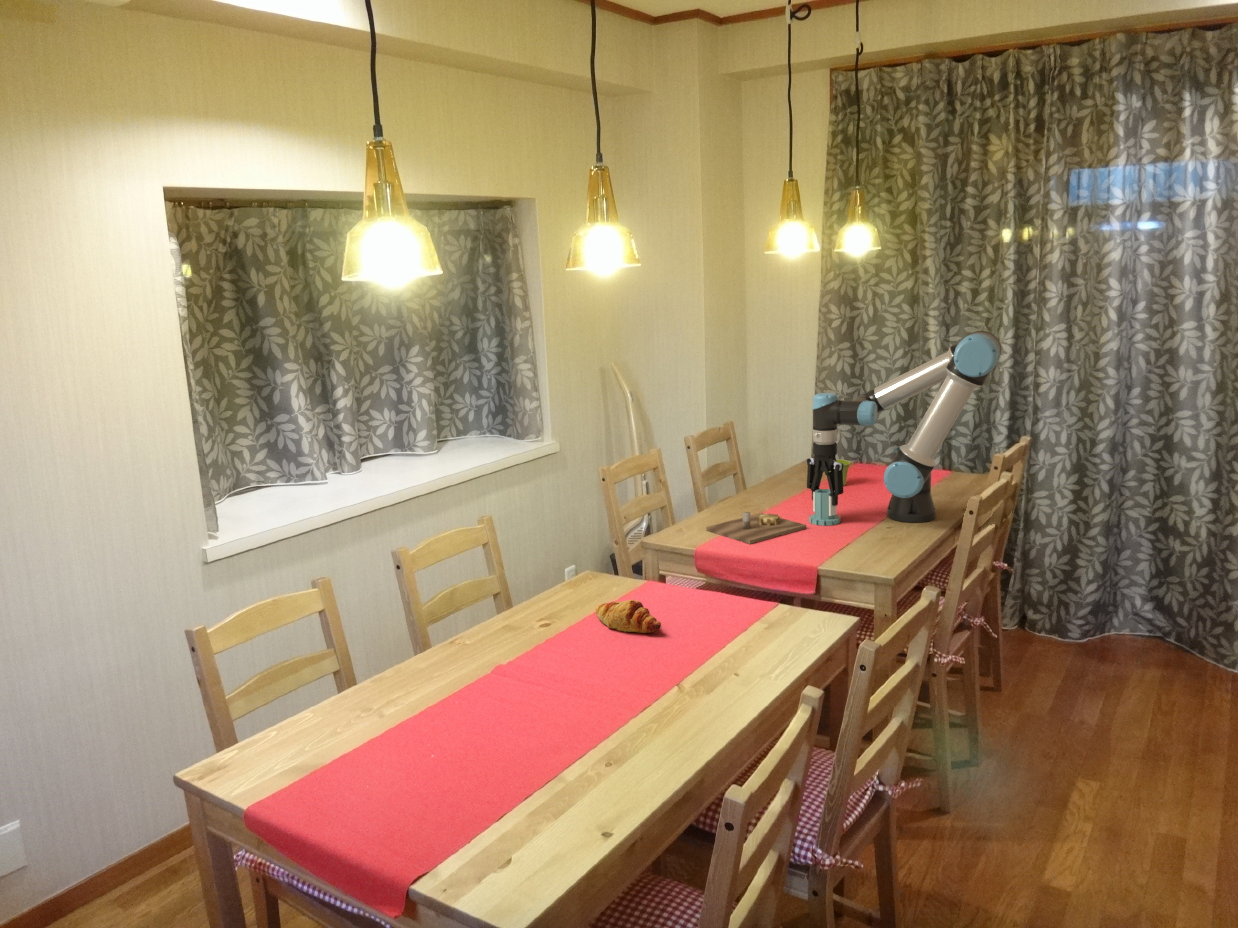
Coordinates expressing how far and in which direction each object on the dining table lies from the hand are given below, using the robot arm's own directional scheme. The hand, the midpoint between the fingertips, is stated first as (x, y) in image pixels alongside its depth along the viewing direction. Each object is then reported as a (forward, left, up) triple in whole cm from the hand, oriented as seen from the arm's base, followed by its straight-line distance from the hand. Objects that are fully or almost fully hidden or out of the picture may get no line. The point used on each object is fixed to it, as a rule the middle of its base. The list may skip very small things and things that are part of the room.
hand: (824, 512), depth 315 cm
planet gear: (0, 0, -3) cm, 3 cm away
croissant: (-29, +99, -3) cm, 104 cm away
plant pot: (+30, -39, -3) cm, 49 cm away
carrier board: (+9, +22, -3) cm, 24 cm away
